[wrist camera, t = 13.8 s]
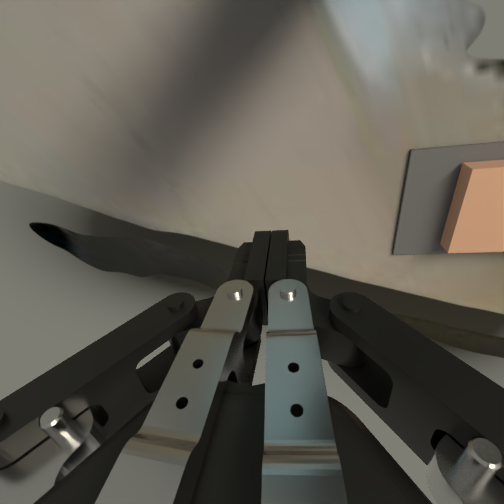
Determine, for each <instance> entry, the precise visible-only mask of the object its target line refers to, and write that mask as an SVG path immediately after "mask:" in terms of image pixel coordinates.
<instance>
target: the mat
mask: <svg viewBox="0 0 504 504" xmlns="http://www.w3.org/2000/svg"><path fill="white" fill-rule="evenodd" d="M492 160H504V142H492V143H480V144H468V145H457V146H445V147H433V148H422V149H410V155H409V161H408V167H407V172H406V178H405V184H404V190H403V195H402V201H401V207H400V213H399V218H398V224H397V230H396V236H395V241H394V247H393V255H404V254H441V253H447V252H446V250H445V249H444V248H443V247H442V245H441V244H440V242H441V238H442V235H443V231H444V228H445V224H446V220H447V217H448V213H449V210H450V206H451V202H452V199H453V195H454V191H455V188H456V184H457V181H458V177H459V173H460V170H461V166H462V163H465V162H478V161H492ZM476 253H479V252H476Z"/></svg>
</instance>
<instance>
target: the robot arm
mask: <svg viewBox="0 0 504 504" xmlns="http://www.w3.org/2000/svg"><path fill="white" fill-rule="evenodd" d="M262 325H268V332H267V333H266V365H265V383H264V384H259V385H254V386H252V382H253V377H254V373H255V368H256V363H257V359H258V354H259V350H260V345H261V331H262ZM168 340H169V342H170V345H171V346H169V347H168V348H166V349H165V350H164V351H163V352H161V353H160V354H158V355H157V356H156V357H154V358H153V359H152V360H150V361H149V362H147V363H146V364H145V365H143V366H142V367H140V368H139V369H136V366H137V364H138V363H139V362H140V361H141V360H142V359H143V358H144V357H146V356H147V355H149V354H150V353H151V352H153V351H154V350H156V349H157V348H158V347H160V346H161V345H162V344H164V343H165V342H167V341H168ZM321 359H324V360H327V361H328V363H329V365H330V367H331V368H332V369H333V370H334V372H335V373H337V374H338V376H340V378H341V379H343V381H344V382H345V383H346V384H347V385H348V386H349V387H351V389H352V390H353V391H354V392H355V393H356V394H357V395H358V396H359V397H360V398H361V399H362V400H363V401H364V402H365V403H366V404H367V405H368V406H369V407H370V408H371V409H372V410H373V411H374V412H375V413H376V414H377V415H378V416H379V417H380V418H381V419H382V420H383V421H384V422H385V423H386V424H387V425H388V426H389V427H390V428H391V429H392V430H393V431H394V432H395V433H396V434H397V435H398V436H399V437H400V438H401V439H402V440H403V441H404V442H405V443H406V444H407V446H408V447H409V448H410V449H412V451H414V453H415V454H416V455H417V456H418V457H419V458H420V459H421V460H422V461H423V462H424V463H425V464H426V465H427V470H426V478H427V483H428V486H429V489H430V491H431V493H432V495H433V497H434V499H435V500H436V502H437V503H438V504H504V388H502V387H501V386H499V385H498V384H496V383H495V382H493V381H492V380H490V379H489V378H487V377H486V376H484V375H483V374H481V373H480V372H478V371H477V370H475V369H474V368H472V367H471V366H469V365H468V364H466V363H465V362H463V361H462V360H460V359H459V358H457V357H456V356H454V355H453V354H451V353H450V352H448V351H447V350H445V349H444V348H442V347H441V346H439V345H438V344H436V343H435V342H433V341H431V340H430V339H429V338H427V337H426V336H424V335H423V334H421V333H420V332H418V331H417V330H415V329H414V328H412V327H411V326H409V325H408V324H406V323H405V322H403V321H402V320H400V319H399V318H397V317H396V316H394V315H393V314H391V313H390V312H388V311H387V310H385V309H384V308H382V307H381V306H379V305H378V304H376V303H375V302H373V301H371V300H370V299H369V298H367V297H365V296H364V295H361V294H358V293H353V292H344V293H340V294H337V295H335V296H334V297H333V298H332V299H331V300H330V299H326V298H322V297H319V296H317V295H315V294H314V293H312V292H311V291H310V290H309V288H308V286H307V274H306V252H305V246H304V244H303V243H302V242H301V241H300V240H297V241H289V232H288V230H277V231H272V232H271V231H256V232H255V234H254V238H253V242H244V243H243V244H242V245H241V246H240V247H239V248H238V251H237V254H236V257H235V260H234V264H233V267H232V270H231V273H230V276H229V279H228V282H226V283H224V284H223V285H221V286H220V287H219V288H218V290H217V292H216V294H215V296H214V297H211V298H208V299H204V300H200V301H195V299H194V297H193V296H192V295H191V294H188V293H175V294H172V295H170V296H168V297H166V298H165V299H163V300H161V301H159V302H158V303H156V304H155V305H153V306H151V307H150V308H148V309H147V310H145V311H143V312H142V313H140V314H139V315H137V316H136V317H134V318H132V319H131V320H129V321H127V322H126V323H124V324H123V325H121V326H119V327H118V328H116V329H115V330H113V331H111V332H110V333H108V334H107V335H105V336H103V337H102V338H100V339H98V340H97V341H95V342H94V343H92V344H90V345H89V346H87V347H86V348H84V349H82V350H81V351H79V352H78V353H76V354H75V355H73V356H71V357H70V358H68V359H67V360H65V361H63V362H62V363H60V364H59V365H57V366H55V367H54V368H52V369H51V370H49V371H47V372H45V373H44V374H42V375H41V376H39V377H37V378H36V379H34V380H33V381H31V382H30V383H28V384H26V385H25V386H23V387H22V388H20V389H18V390H17V391H15V392H13V393H12V394H10V395H9V396H7V397H5V398H4V399H2V400H1V401H0V504H432V503H431V501H430V500H429V499H428V498H427V497H426V496H425V494H424V493H423V492H422V491H421V490H420V489H419V488H418V486H417V485H416V484H415V483H414V482H413V481H412V479H410V477H409V476H408V475H407V474H406V473H405V472H404V470H403V469H402V468H401V467H400V466H399V464H398V463H397V462H396V461H395V460H394V459H393V457H392V456H391V455H390V454H389V453H388V452H387V451H386V450H385V448H384V447H383V446H382V445H381V444H380V442H379V441H378V440H377V439H376V438H375V437H374V435H373V434H372V433H371V432H370V431H369V430H368V429H367V428H366V426H365V425H364V424H363V423H362V422H361V420H360V419H359V418H358V417H357V416H356V415H355V414H354V413H353V412H352V411H350V410H349V409H348V408H347V407H346V406H344V405H343V404H342V403H340V402H338V401H337V400H335V399H333V398H331V397H329V396H327V391H326V385H325V379H324V373H323V367H322V361H321Z"/></svg>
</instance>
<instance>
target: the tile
mask: <svg viewBox="0 0 504 504" xmlns="http://www.w3.org/2000/svg"><path fill="white" fill-rule="evenodd" d="M440 244H441V245H442V247H443V248H444V249H445V250H446V252H447V253H476V252H504V160H492V161H478V162H465V163H462V166H461V170H460V173H459V177H458V181H457V184H456V188H455V191H454V195H453V199H452V202H451V206H450V210H449V213H448V217H447V220H446V224H445V228H444V231H443V235H442V238H441V242H440Z"/></svg>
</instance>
